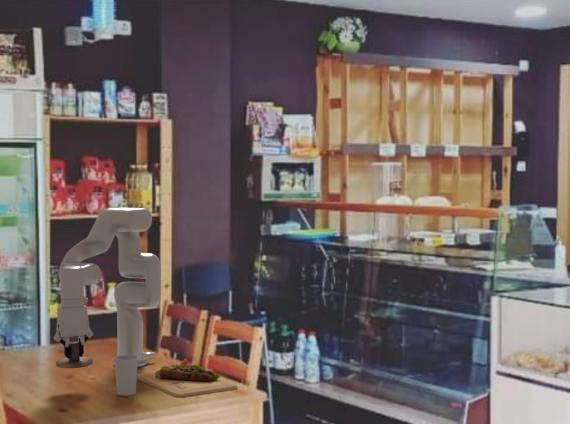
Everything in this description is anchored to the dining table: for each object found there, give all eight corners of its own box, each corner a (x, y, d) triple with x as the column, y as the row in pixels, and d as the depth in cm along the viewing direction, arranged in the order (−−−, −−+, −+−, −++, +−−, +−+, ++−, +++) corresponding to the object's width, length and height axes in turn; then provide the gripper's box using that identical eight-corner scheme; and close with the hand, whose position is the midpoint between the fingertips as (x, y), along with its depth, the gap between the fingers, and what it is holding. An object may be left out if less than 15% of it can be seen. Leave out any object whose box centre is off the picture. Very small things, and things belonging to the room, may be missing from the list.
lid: (85, 357, 318) (84, 337, 317) (97, 364, 308) (97, 344, 307) (51, 362, 312) (50, 342, 311) (62, 370, 301) (62, 349, 301)
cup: (142, 391, 309) (142, 355, 308) (131, 396, 302) (130, 360, 301) (121, 389, 312) (121, 354, 311) (109, 394, 304) (109, 359, 304)
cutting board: (134, 378, 330) (133, 358, 329) (192, 370, 342) (192, 350, 342) (177, 399, 300) (177, 377, 300) (239, 390, 313) (239, 368, 313)
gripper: (92, 298, 315) (93, 351, 317) (44, 304, 307) (46, 358, 308) (100, 302, 309) (101, 355, 311) (51, 307, 300) (53, 362, 302)
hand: (74, 356), depth 309 cm, fingers closed on lid, 3 cm apart
